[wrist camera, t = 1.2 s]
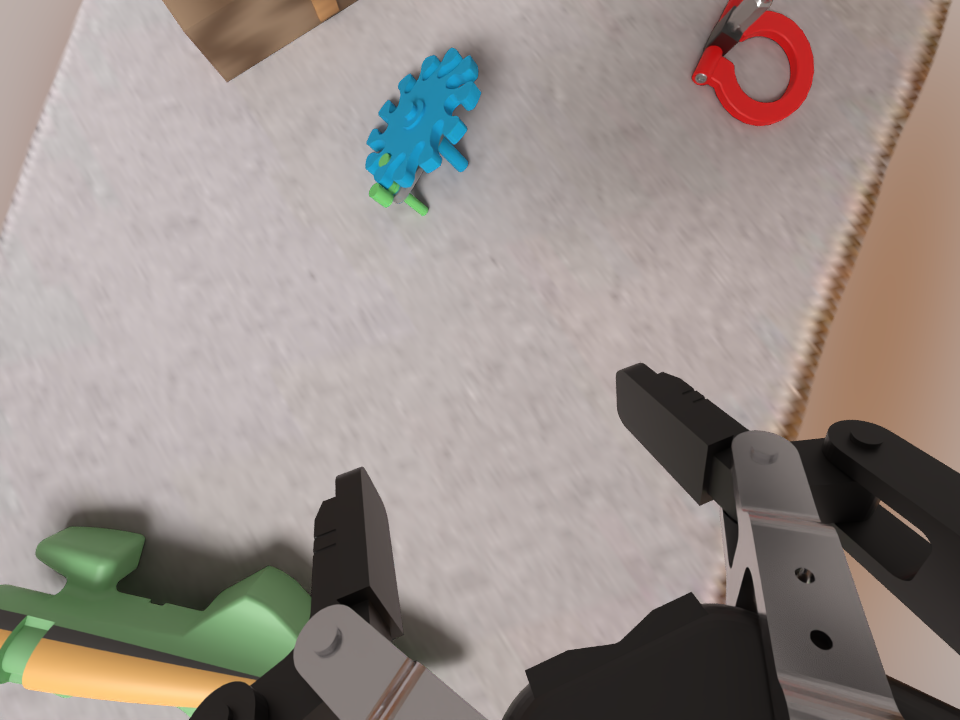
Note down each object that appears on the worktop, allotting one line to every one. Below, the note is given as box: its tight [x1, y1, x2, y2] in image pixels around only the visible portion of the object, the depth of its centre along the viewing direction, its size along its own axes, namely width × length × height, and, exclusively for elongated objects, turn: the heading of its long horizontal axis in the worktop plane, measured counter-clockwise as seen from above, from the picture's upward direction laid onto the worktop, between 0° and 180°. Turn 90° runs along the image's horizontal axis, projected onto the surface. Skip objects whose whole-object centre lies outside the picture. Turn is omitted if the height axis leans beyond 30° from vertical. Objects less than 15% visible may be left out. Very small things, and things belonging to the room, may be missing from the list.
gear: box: [366, 48, 481, 216], centre depth 30 cm, size 11×6×10 cm
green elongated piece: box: [0, 526, 311, 717], centre depth 29 cm, size 32×10×7 cm, turn 73°
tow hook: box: [692, 0, 814, 126], centre depth 27 cm, size 8×13×9 cm
